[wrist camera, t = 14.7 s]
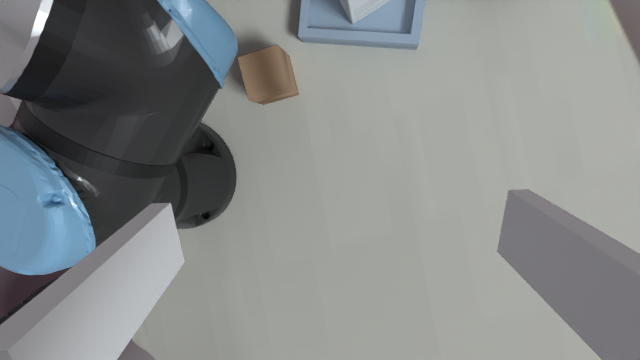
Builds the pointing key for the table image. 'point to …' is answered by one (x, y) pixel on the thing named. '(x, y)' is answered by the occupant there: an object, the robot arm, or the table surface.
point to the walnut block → (268, 75)
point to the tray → (362, 24)
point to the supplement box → (360, 8)
